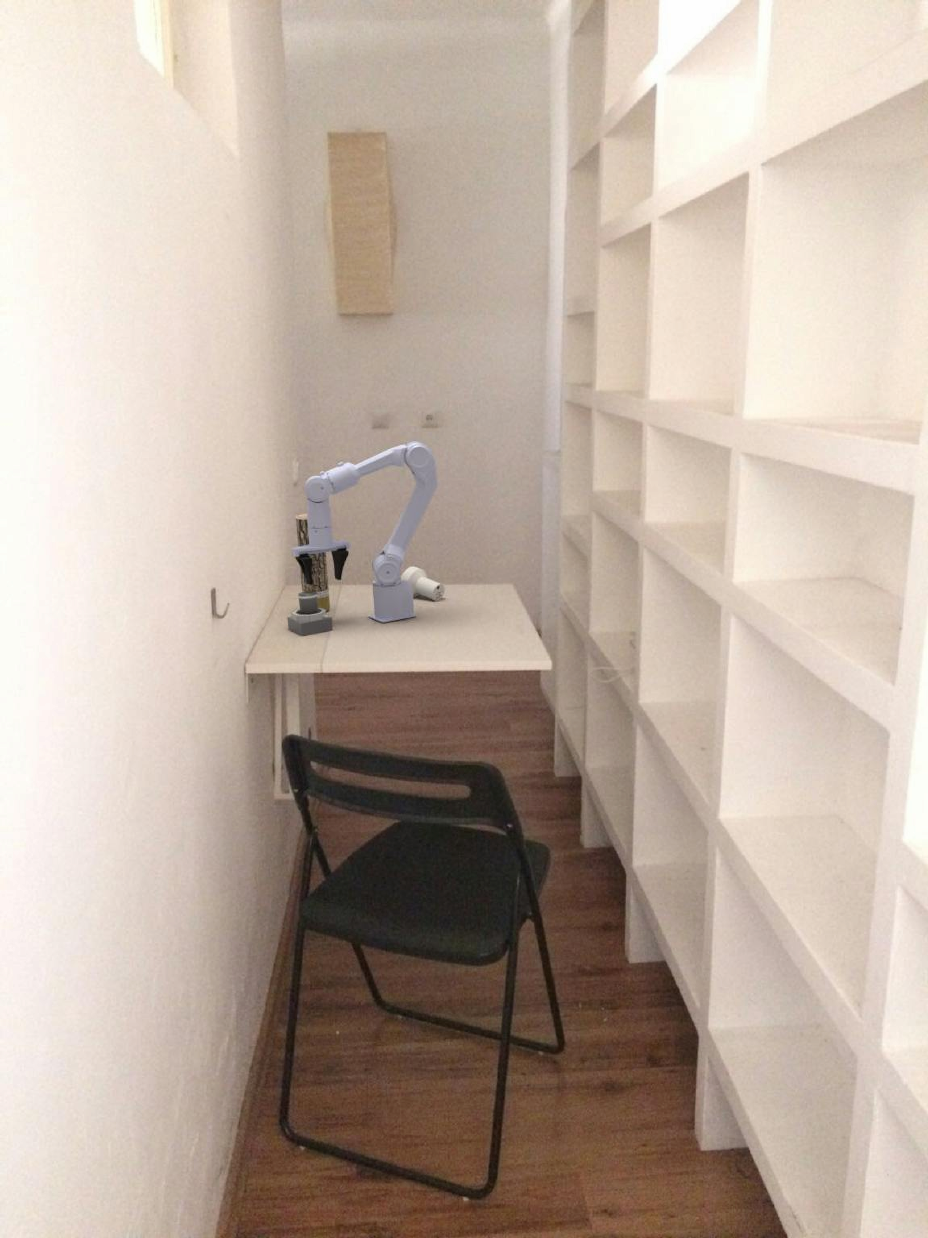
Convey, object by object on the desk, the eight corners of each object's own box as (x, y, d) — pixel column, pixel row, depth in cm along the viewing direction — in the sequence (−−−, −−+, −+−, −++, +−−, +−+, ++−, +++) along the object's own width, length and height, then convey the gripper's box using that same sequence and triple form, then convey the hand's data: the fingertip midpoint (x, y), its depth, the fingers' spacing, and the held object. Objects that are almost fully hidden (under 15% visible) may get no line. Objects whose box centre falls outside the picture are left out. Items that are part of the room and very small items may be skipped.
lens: (313, 614, 236) (311, 590, 234) (322, 617, 232) (320, 593, 231) (297, 617, 233) (294, 593, 232) (305, 621, 230) (303, 596, 228)
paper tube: (332, 607, 254) (325, 512, 248) (326, 614, 248) (319, 517, 241) (307, 608, 255) (299, 513, 249) (300, 614, 248) (292, 517, 242)
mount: (318, 623, 239) (317, 605, 238) (332, 630, 232) (331, 611, 231) (288, 629, 235) (286, 611, 234) (301, 636, 228) (300, 617, 227)
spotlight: (419, 587, 268) (418, 561, 263) (449, 600, 261) (449, 573, 257) (398, 598, 262) (397, 571, 258) (429, 611, 256) (428, 585, 252)
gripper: (340, 521, 240) (343, 574, 243) (285, 528, 232) (289, 583, 236) (352, 524, 234) (356, 579, 238) (296, 531, 227) (301, 588, 230)
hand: (324, 581), depth 236 cm, fingers open, 7 cm apart
